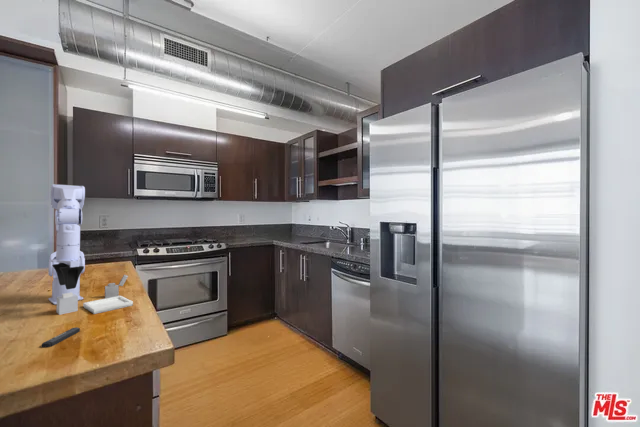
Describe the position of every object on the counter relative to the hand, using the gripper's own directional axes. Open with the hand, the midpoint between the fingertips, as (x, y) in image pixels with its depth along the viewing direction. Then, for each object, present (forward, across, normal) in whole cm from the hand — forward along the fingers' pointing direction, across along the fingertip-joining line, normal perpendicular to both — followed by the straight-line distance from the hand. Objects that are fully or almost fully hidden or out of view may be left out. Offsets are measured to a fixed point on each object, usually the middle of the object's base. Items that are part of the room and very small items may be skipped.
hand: (67, 286), depth 91 cm
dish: (+8, +4, +10) cm, 14 cm away
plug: (+8, 0, 0) cm, 8 cm away
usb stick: (+9, +24, -6) cm, 26 cm away
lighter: (+8, -7, +16) cm, 19 cm away
